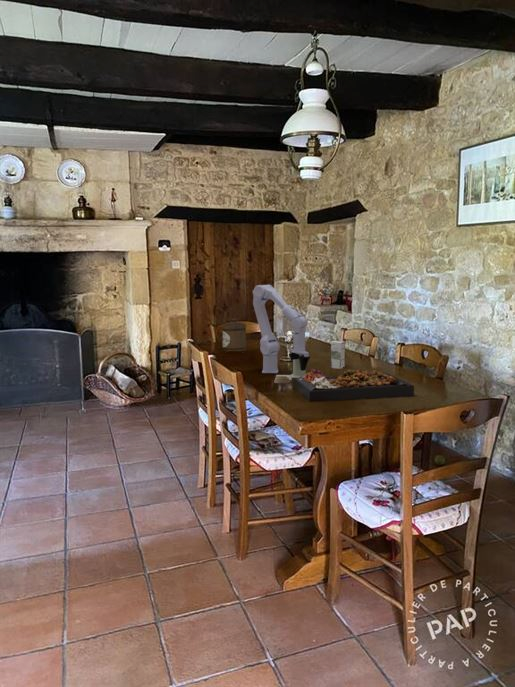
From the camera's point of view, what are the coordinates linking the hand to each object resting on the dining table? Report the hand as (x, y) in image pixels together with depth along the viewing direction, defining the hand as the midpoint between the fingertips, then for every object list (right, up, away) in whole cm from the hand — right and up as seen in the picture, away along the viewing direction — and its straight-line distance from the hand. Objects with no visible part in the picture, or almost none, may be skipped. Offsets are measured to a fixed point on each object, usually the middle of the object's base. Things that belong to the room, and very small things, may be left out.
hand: (299, 369), depth 244 cm
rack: (-8, -5, -5) cm, 11 cm away
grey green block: (0, -3, 0) cm, 3 cm away
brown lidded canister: (-35, +6, +68) cm, 77 cm away
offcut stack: (-9, -6, -12) cm, 16 cm away
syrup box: (+22, -1, +19) cm, 29 cm away
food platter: (+20, -9, -28) cm, 36 cm away
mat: (0, -4, +1) cm, 4 cm away
